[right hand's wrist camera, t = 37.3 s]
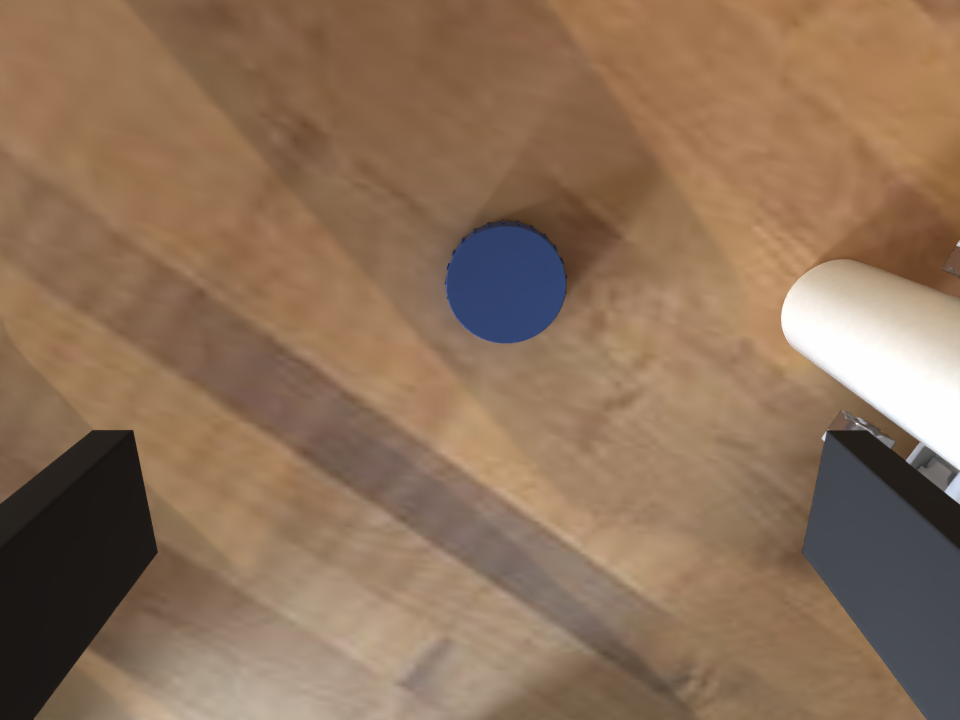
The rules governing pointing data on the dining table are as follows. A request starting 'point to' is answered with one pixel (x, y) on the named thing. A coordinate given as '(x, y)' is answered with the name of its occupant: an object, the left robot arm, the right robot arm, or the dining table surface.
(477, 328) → the lid
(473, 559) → the dining table surface
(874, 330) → the cream cylinder
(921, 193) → the dining table surface
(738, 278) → the dining table surface
